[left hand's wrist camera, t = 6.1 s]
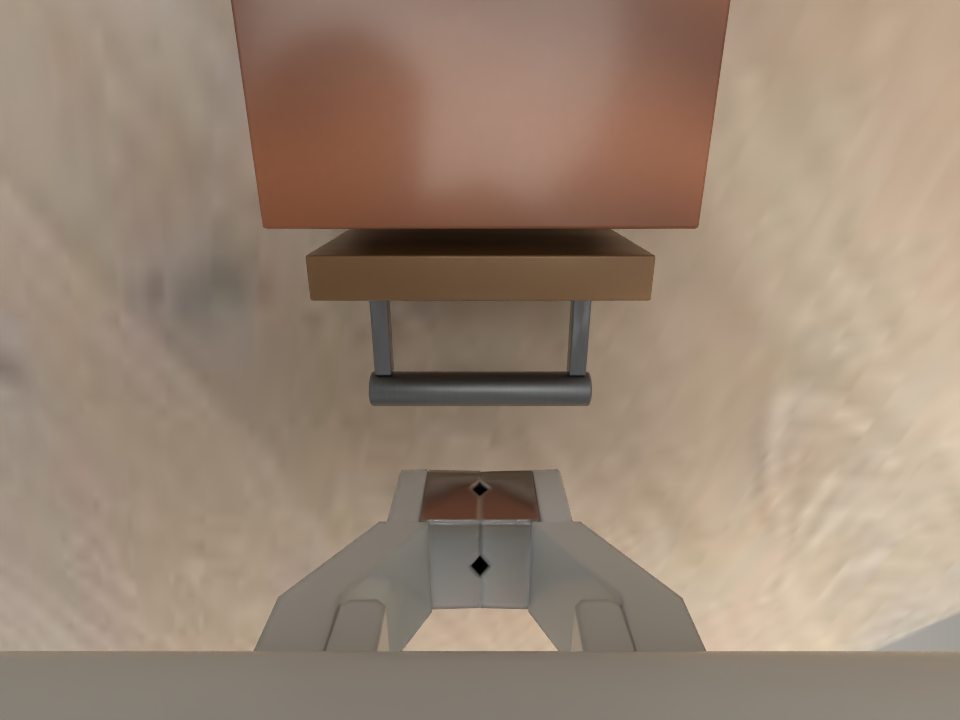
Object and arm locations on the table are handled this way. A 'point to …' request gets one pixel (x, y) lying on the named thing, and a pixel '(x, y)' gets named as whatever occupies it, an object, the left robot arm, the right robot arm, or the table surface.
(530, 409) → the table surface
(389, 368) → the drawer
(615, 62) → the cabinet
